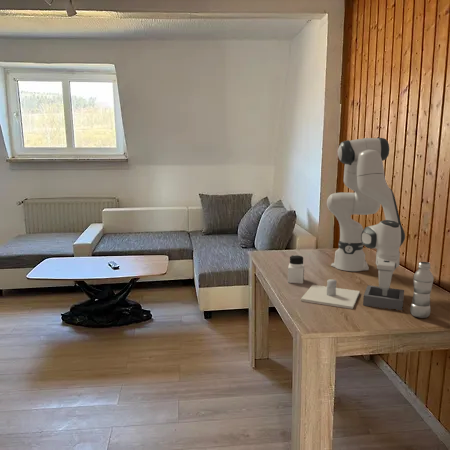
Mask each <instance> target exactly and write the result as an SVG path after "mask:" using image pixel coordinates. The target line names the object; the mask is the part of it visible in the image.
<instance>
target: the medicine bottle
mask: <svg viewBox="0 0 450 450" xmlns="http://www.w3.org/2000/svg"><path fill="white" fill-rule="evenodd" d="M304 276H305V264H304V257H303V256H302V255H299V254H294V255H290V256H289V264H288V267H287V283H289V284H290V283H291V284H300V285H301V284H305V283H304V282H305V277H304Z"/></svg>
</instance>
